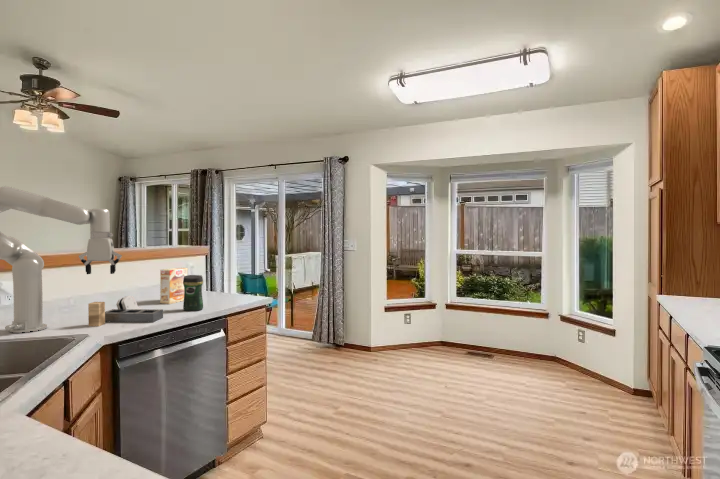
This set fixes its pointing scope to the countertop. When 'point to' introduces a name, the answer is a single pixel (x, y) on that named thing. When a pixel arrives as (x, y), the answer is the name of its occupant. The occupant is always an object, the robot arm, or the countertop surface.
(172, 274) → the coffeecake box
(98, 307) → the peg
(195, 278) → the coffee jar
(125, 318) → the rail
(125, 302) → the hinge
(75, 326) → the countertop surface
